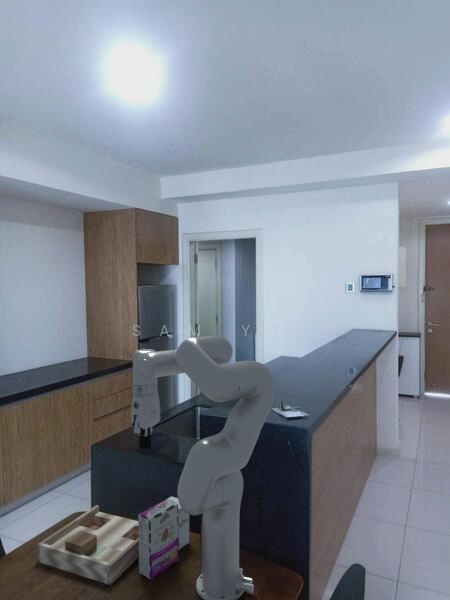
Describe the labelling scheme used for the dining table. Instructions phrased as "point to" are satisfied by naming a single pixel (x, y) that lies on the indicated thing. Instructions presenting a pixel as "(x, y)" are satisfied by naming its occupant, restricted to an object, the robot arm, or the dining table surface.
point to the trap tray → (110, 546)
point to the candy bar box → (158, 538)
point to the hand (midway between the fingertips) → (145, 447)
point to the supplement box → (182, 524)
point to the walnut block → (82, 543)
